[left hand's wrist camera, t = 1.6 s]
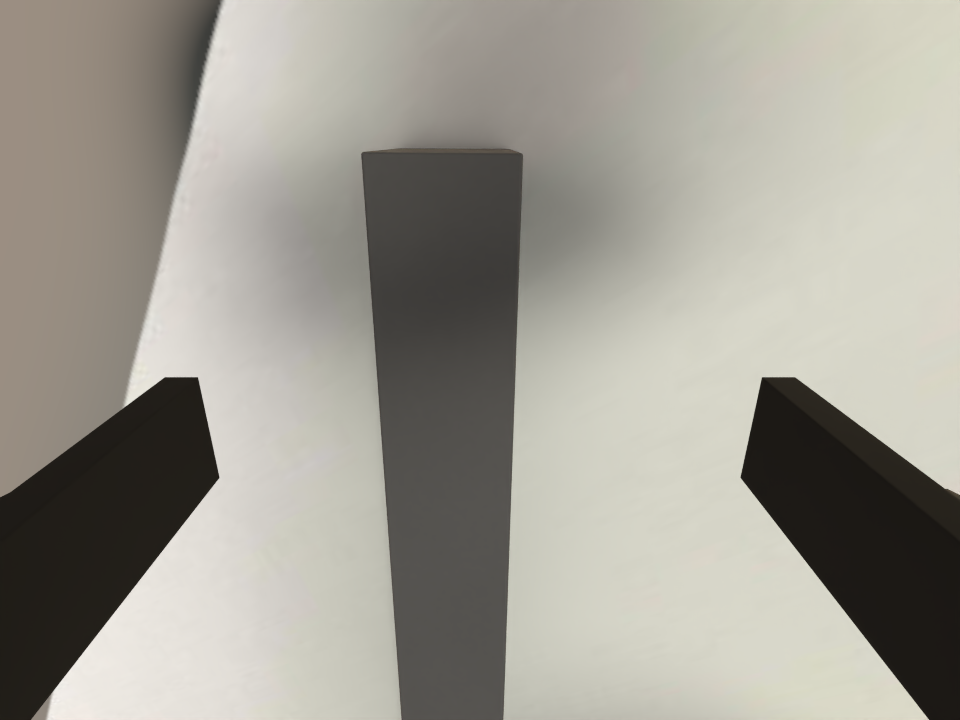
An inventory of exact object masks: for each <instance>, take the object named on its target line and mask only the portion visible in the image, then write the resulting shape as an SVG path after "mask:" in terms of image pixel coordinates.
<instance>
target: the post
mask: <svg viewBox="0 0 960 720" xmlns="http://www.w3.org/2000/svg"><path fill="white" fill-rule="evenodd" d="M361 155H362V169H363V183H364V197H365V211H366V225H367V239H368V253H369V267H370V281H371V295H372V309H373V323H374V337H375V352H376V366H377V380H378V394H379V408H380V422H381V436H382V450H383V464H384V478H385V492H386V506H387V520H388V534H389V548H390V562H391V576H392V590H393V604H394V618H395V632H396V646H397V660H398V674H399V688H400V702H401V716H402V720H503V713H504V684H505V655H506V626H507V598H508V569H509V540H510V512H511V483H512V454H513V425H514V397H515V368H516V339H517V310H518V282H519V253H520V224H521V196H522V167H523V155H522V154H521V153H519V152H516V151H513V150H510V149H390V150H380V151H369V152H362V154H361Z"/></svg>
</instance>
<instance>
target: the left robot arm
mask: <svg viewBox="0 0 960 720" xmlns="http://www.w3.org/2000/svg"><path fill="white" fill-rule="evenodd" d="M218 479H219V473H218V469H217V464H216V459H215V455H214V450H213V445H212V441H211V436H210V432H209V427H208V422H207V418H206V413H205V408H204V404H203V399H202V394H201V390H200V385H199V380H198V377H165V378H164V379H162V380H161V381H159V382H158V383H157V384H155V385H154V386H153V387H151V388H150V389H149V390H147V391H146V392H145V393H143V394H142V395H141V396H139V397H138V398H137V399H135V400H134V401H133V402H131V403H130V404H129V405H127V406H126V407H125V408H123V409H122V410H121V411H119V412H118V413H116V414H115V415H114V416H112V417H111V418H110V419H108V420H107V421H106V422H104V423H103V424H102V425H100V426H99V427H98V428H96V429H95V430H94V431H92V432H91V433H90V434H88V435H87V436H86V437H84V438H83V439H82V440H80V441H79V442H77V443H76V444H75V445H73V446H72V447H71V448H69V449H68V450H67V451H65V452H64V453H63V454H61V455H60V456H59V457H57V458H56V459H55V460H53V461H52V462H51V463H49V464H48V465H47V466H45V467H44V468H43V469H41V470H40V471H38V472H37V473H36V474H35V475H33V476H32V477H30V478H29V479H28V480H26V481H25V482H24V483H22V484H21V485H20V486H18V487H17V488H16V489H14V490H13V491H12V492H10V493H8V494H6V495H4V496H2V497H0V720H31V719H32V717H33V716H34V715H35V714H36V712H37V711H38V710H39V709H40V707H41V706H42V705H43V703H44V702H45V701H46V700H47V698H48V697H49V696H50V694H51V693H52V692H53V691H54V689H55V688H56V687H57V685H58V684H59V683H60V682H61V680H62V679H63V678H64V676H65V675H66V674H67V673H68V671H69V670H70V669H71V668H72V666H73V665H74V664H75V662H76V661H77V660H78V659H79V657H80V656H81V655H82V653H83V652H84V651H85V650H86V648H87V647H88V646H89V644H90V643H91V642H92V641H93V639H94V638H95V637H96V635H97V634H98V633H99V632H100V630H101V629H102V628H103V626H104V625H105V624H106V623H107V621H108V620H109V619H110V617H111V616H112V615H113V614H114V612H115V611H116V610H117V608H118V607H119V606H120V605H121V603H122V602H123V601H124V599H125V598H126V597H127V596H128V594H129V593H130V592H131V590H132V589H133V588H134V587H135V585H136V584H137V583H138V581H139V580H140V579H141V578H142V576H143V575H144V574H145V573H146V571H147V570H148V569H149V567H150V566H151V565H152V564H153V562H154V561H155V560H156V558H157V557H158V556H159V555H160V553H161V552H162V551H163V549H164V548H165V547H166V546H167V544H168V543H169V542H170V540H171V539H172V538H173V537H174V535H175V534H176V533H177V531H178V530H179V529H180V528H181V526H182V525H183V524H184V522H185V521H186V520H187V519H188V517H189V516H190V515H191V513H192V512H193V511H194V510H195V508H196V507H197V506H198V504H199V503H200V502H201V501H202V499H203V498H204V497H205V495H206V494H207V493H208V492H209V490H210V489H211V488H212V486H213V485H214V484H215V483H216V481H217V480H218ZM741 479H742V480H743V481H744V483H745V484H746V485H747V486H748V488H749V489H750V490H751V492H752V493H753V494H754V495H755V497H756V498H757V499H758V501H759V502H760V503H761V504H762V506H763V507H764V508H765V510H766V511H767V512H768V513H769V515H770V516H771V517H772V519H773V520H774V521H775V522H776V524H777V525H778V526H779V528H780V529H781V530H782V531H783V533H784V534H785V535H786V537H787V538H788V539H789V540H790V542H791V543H792V544H793V546H794V547H795V548H796V549H797V551H798V552H799V553H800V555H801V556H802V557H803V558H804V560H805V561H806V562H807V564H808V565H809V566H810V567H811V569H812V570H813V571H814V573H815V574H816V575H817V576H818V578H819V579H820V580H821V581H822V583H823V584H824V585H825V587H826V588H827V589H828V590H829V592H830V593H831V594H832V596H833V597H834V598H835V599H836V601H837V602H838V603H839V605H840V606H841V607H842V608H843V610H844V611H845V612H846V614H847V615H848V616H849V617H850V619H851V620H852V621H853V623H854V624H855V625H856V626H857V628H858V629H859V630H860V632H861V633H862V634H863V635H864V637H865V638H866V639H867V641H868V642H869V643H870V644H871V646H872V647H873V648H874V650H875V651H876V652H877V653H878V655H879V656H880V657H881V659H882V660H883V661H884V662H885V664H886V665H887V666H888V668H889V669H890V670H891V671H892V673H893V674H894V675H895V676H896V678H897V679H898V680H899V682H900V683H901V684H902V685H903V687H904V688H905V689H906V691H907V692H908V693H909V694H910V696H911V697H912V698H913V700H914V701H915V702H916V703H917V705H918V706H919V707H920V709H921V710H922V711H923V712H924V714H925V715H926V716H927V718H928V719H929V720H960V495H959V494H957V493H955V492H953V491H951V490H948V489H944V488H943V487H942V486H940V485H939V484H938V483H936V482H935V481H934V480H932V479H931V478H930V477H928V476H927V475H926V474H924V473H923V472H921V471H920V470H919V469H917V468H916V467H915V466H913V465H912V464H911V463H909V462H908V461H907V460H905V459H904V458H903V457H901V456H900V455H899V454H897V453H896V452H895V451H893V450H892V449H891V448H889V447H888V446H887V445H885V444H884V443H883V442H881V441H880V440H878V439H877V438H876V437H874V436H873V435H872V434H870V433H869V432H868V431H866V430H865V429H864V428H862V427H861V426H860V425H858V424H857V423H856V422H854V421H853V420H852V419H850V418H849V417H848V416H846V415H845V414H844V413H842V412H841V411H839V410H838V409H837V408H835V407H834V406H833V405H831V404H830V403H829V402H827V401H826V400H825V399H823V398H822V397H821V396H819V395H818V394H817V393H815V392H814V391H813V390H811V389H810V388H809V387H807V386H806V385H805V384H803V383H802V382H801V381H799V380H798V379H796V378H795V377H762V380H761V385H760V390H759V394H758V399H757V404H756V408H755V413H754V418H753V422H752V427H751V432H750V436H749V441H748V445H747V450H746V455H745V459H744V464H743V469H742V473H741Z"/></svg>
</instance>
